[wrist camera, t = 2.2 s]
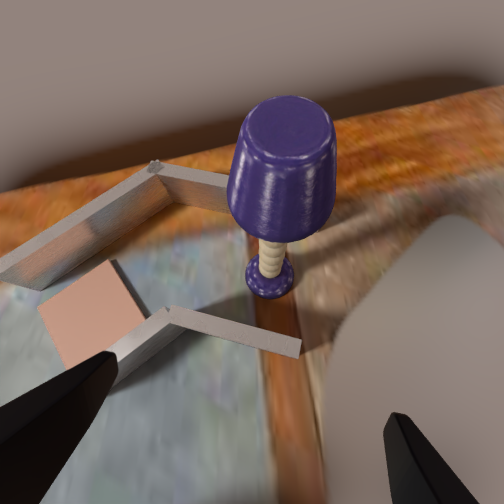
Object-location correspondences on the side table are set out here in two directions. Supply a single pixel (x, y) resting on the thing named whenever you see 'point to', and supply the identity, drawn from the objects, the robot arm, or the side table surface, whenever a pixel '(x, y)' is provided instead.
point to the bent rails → (115, 226)
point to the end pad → (90, 314)
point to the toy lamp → (282, 184)
